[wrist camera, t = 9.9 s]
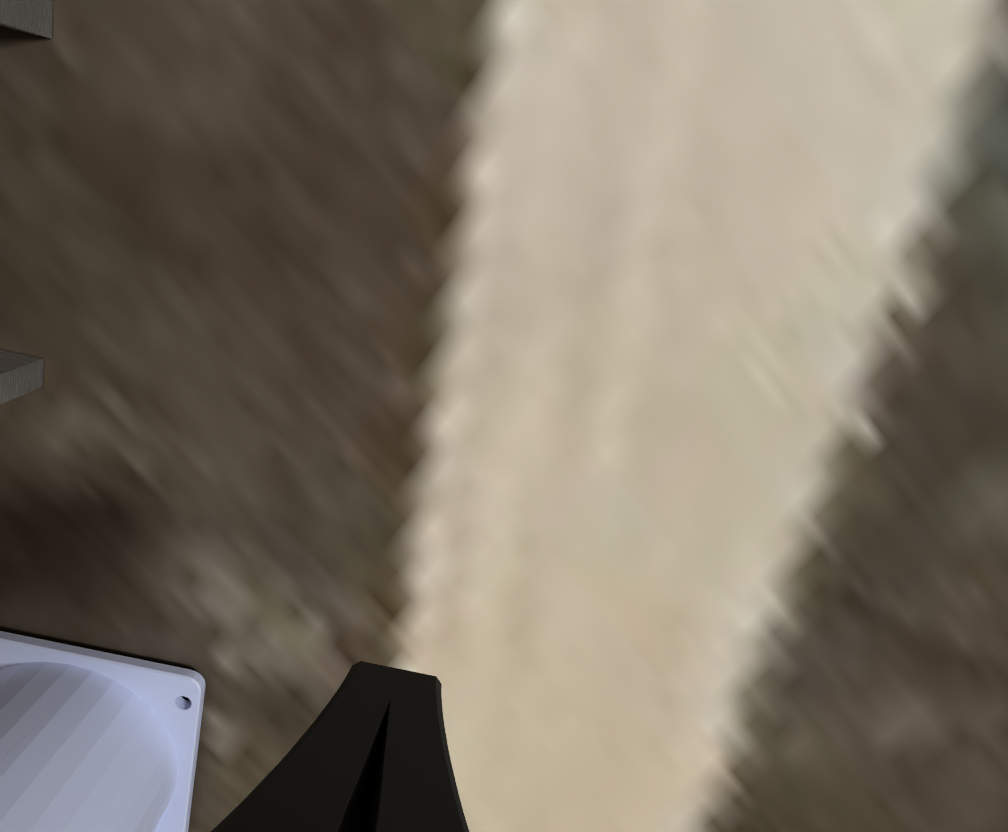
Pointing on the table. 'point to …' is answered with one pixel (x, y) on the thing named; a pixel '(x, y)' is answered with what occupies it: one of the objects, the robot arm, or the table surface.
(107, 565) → the table surface
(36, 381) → the frame
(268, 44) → the table surface
